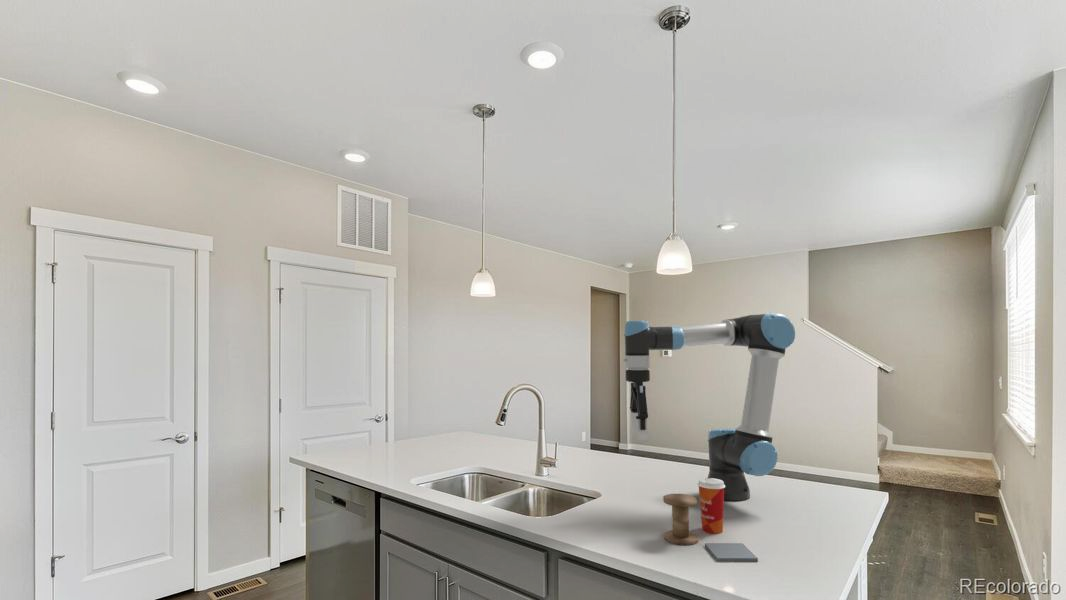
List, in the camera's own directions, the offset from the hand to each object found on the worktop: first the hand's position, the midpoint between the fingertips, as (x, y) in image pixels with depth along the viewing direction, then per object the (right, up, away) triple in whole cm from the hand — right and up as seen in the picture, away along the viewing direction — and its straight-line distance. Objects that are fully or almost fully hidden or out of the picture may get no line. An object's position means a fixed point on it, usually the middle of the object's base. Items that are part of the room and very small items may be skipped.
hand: (639, 436), depth 170 cm
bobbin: (+7, -23, -22) cm, 32 cm away
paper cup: (+18, -23, -15) cm, 33 cm away
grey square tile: (+17, -22, -32) cm, 42 cm away
